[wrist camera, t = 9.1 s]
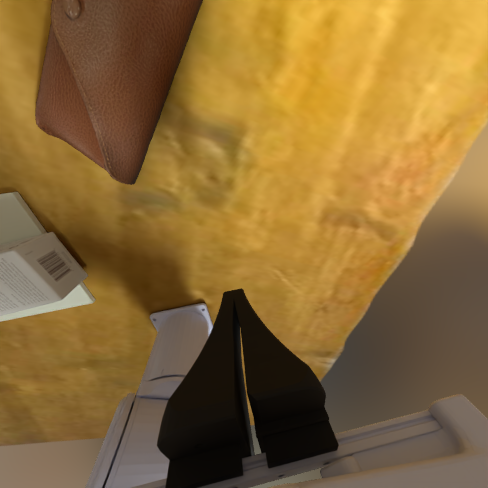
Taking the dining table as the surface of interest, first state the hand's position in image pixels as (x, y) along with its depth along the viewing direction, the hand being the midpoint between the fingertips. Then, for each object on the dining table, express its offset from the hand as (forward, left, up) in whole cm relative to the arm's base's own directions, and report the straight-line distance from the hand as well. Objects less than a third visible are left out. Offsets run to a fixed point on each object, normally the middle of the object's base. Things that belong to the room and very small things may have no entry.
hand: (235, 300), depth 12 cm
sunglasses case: (+17, +5, -11) cm, 21 cm away
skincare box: (+2, +17, -8) cm, 19 cm away
